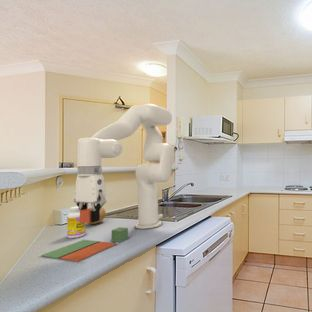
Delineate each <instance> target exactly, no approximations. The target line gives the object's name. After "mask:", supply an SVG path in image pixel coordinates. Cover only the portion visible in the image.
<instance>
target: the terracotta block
mask: <svg viewBox="0 0 312 312" xmlns="http://www.w3.org/2000/svg"><path fill="white" fill-rule="evenodd" d="M91 211H92V207H88V208H87V209H84V210H80V223H85V224H88V223H92V222H91Z"/></svg>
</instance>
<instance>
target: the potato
mask: <svg viewBox="0 0 312 312" xmlns="http://www.w3.org/2000/svg"><path fill="white" fill-rule="evenodd" d="M106 216H107V213H106V210H105V208H103V207H101V210H100V220H99V221H96V222H92V223H87V224H88V225H96V224H98V223H100V222H102V221H103V220H104V219H105V218H106Z"/></svg>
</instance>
